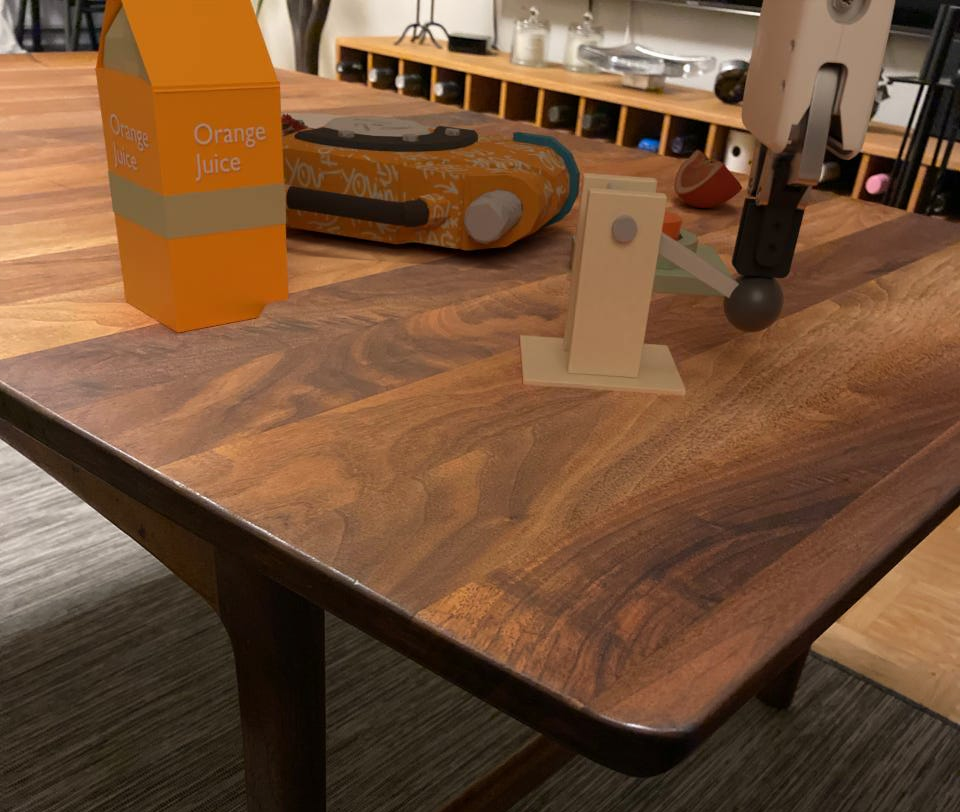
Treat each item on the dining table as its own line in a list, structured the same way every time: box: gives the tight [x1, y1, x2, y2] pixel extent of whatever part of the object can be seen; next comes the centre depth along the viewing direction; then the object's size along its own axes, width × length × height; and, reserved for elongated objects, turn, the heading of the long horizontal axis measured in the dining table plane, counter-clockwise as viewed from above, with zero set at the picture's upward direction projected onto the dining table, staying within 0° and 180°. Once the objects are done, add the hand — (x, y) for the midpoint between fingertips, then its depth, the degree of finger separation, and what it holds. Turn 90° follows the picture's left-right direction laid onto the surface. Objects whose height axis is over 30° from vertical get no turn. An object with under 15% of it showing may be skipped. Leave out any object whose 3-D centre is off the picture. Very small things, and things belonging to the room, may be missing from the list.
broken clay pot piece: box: [673, 149, 743, 209], centre depth 108 cm, size 8×7×5 cm
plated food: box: [281, 112, 349, 137], centre depth 117 cm, size 30×30×3 cm
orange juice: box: [94, 0, 289, 333], centre depth 67 cm, size 8×9×20 cm
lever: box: [605, 182, 785, 333], centre depth 62 cm, size 13×4×4 cm, turn 90°
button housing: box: [569, 228, 735, 298], centre depth 84 cm, size 12×10×4 cm
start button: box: [662, 210, 683, 241], centre depth 82 cm, size 4×4×2 cm
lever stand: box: [519, 172, 687, 396], centre depth 63 cm, size 10×8×12 cm
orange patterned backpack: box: [282, 115, 581, 251], centre depth 90 cm, size 23×8×30 cm
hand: (759, 272), depth 63 cm, fingers closed
